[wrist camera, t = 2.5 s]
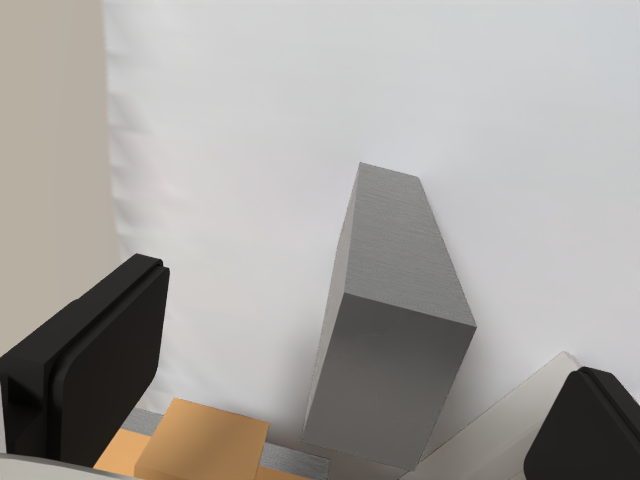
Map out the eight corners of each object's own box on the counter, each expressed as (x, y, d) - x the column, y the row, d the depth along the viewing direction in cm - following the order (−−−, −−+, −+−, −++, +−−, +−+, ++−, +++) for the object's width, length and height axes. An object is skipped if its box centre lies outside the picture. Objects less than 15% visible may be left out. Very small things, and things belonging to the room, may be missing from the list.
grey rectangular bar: (359, 162, 18) (343, 292, 8) (418, 177, 18) (476, 326, 8) (338, 242, 20) (300, 442, 9) (392, 257, 19) (413, 472, 9)
